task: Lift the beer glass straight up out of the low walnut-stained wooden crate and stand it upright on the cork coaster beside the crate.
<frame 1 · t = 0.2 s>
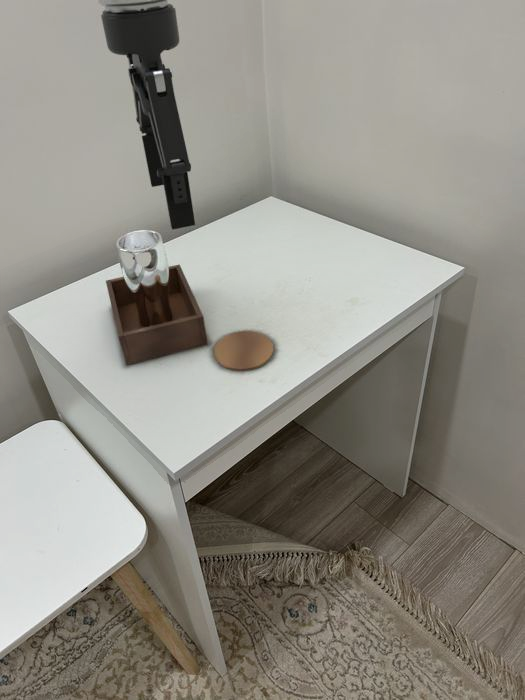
hand: (171, 203, 68), 24 cm above the table, tool pointing down, fingers open, 13 cm apart
coaster: (243, 351, 83), on the table
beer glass: (157, 323, 89), resting on crate
crate: (157, 324, 89), on the table
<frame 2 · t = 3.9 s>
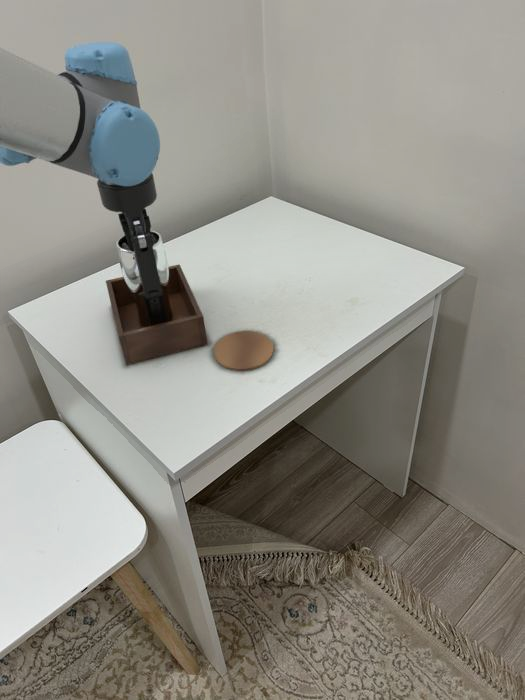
hand: (155, 314, 88), 2 cm above the table, tool pointing down, fingers closed on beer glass, 6 cm apart
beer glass: (157, 323, 89), resting on crate, touching gripper
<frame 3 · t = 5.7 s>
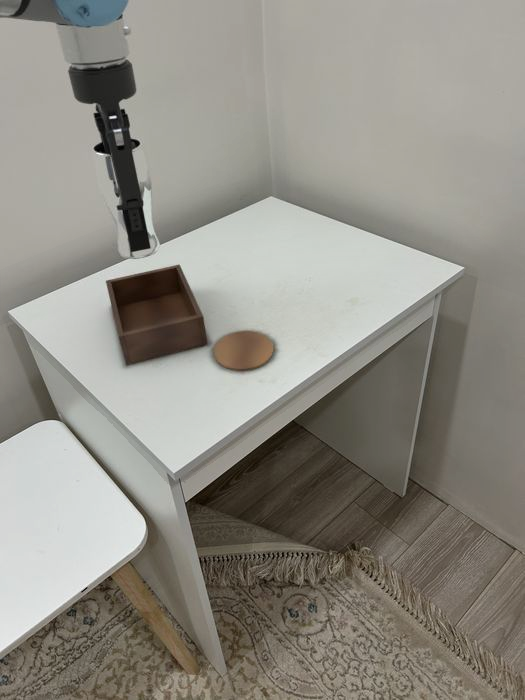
hand: (136, 238, 79), 16 cm above the table, tool pointing down, fingers closed on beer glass, 6 cm apart
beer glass: (139, 250, 80), point 14 cm above the table, touching gripper
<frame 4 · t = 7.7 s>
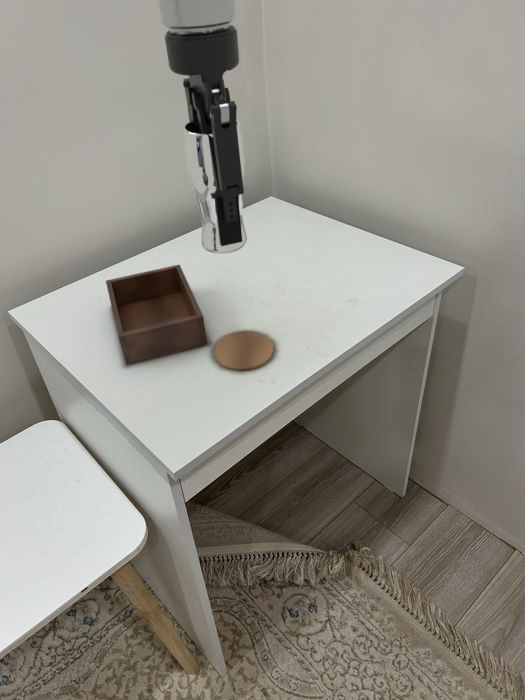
hand: (223, 230, 71), 20 cm above the table, tool pointing down, fingers closed on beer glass, 6 cm apart
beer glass: (225, 243, 72), point 18 cm above the table, touching gripper
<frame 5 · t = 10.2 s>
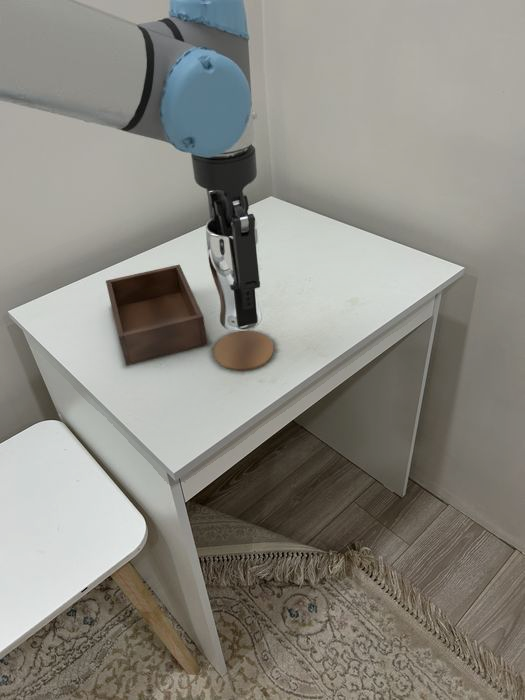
hand: (239, 309, 78), 8 cm above the table, tool pointing down, fingers closed on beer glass, 6 cm apart
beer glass: (241, 320, 79), point 6 cm above the table, touching gripper
when the fingers open (2 cm above the table, at t = 11.9 s): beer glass stays where it is, resting on coaster.
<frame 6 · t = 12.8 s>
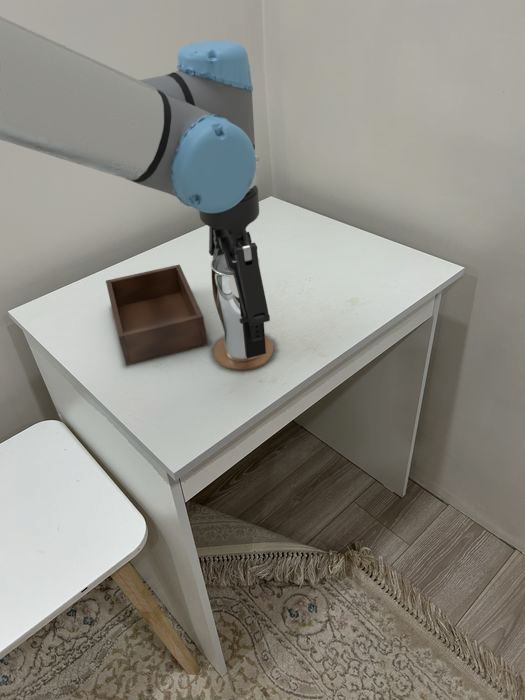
hand: (241, 327, 80), 5 cm above the table, tool pointing down, fingers open, 13 cm apart
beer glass: (243, 349, 82), resting on coaster
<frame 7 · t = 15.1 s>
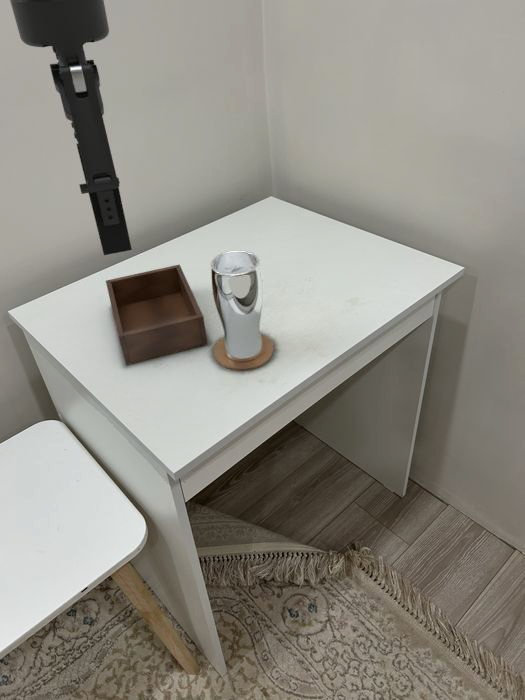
hand: (109, 223, 59), 27 cm above the table, tool pointing down, fingers open, 13 cm apart
nothing on the table moved.
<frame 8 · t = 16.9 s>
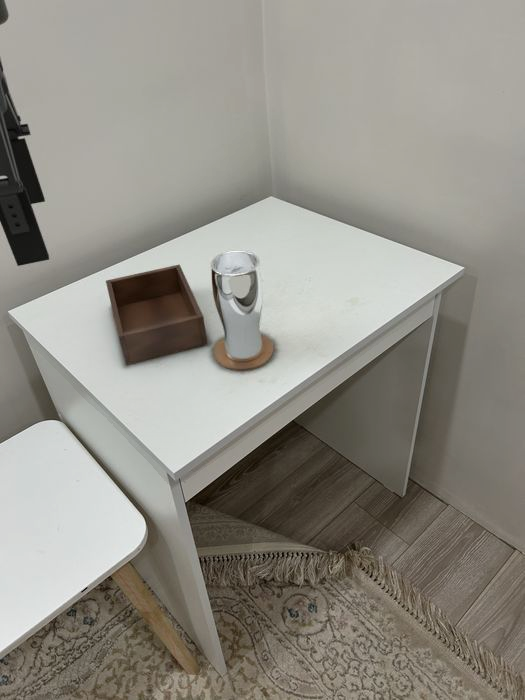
hand: (32, 229, 54), 29 cm above the table, tool pointing down, fingers open, 13 cm apart
nothing on the table moved.
at the end: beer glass inside the target area (0.0 cm from its centre), resting on coaster; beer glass tilted 0°; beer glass touching coaster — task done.
